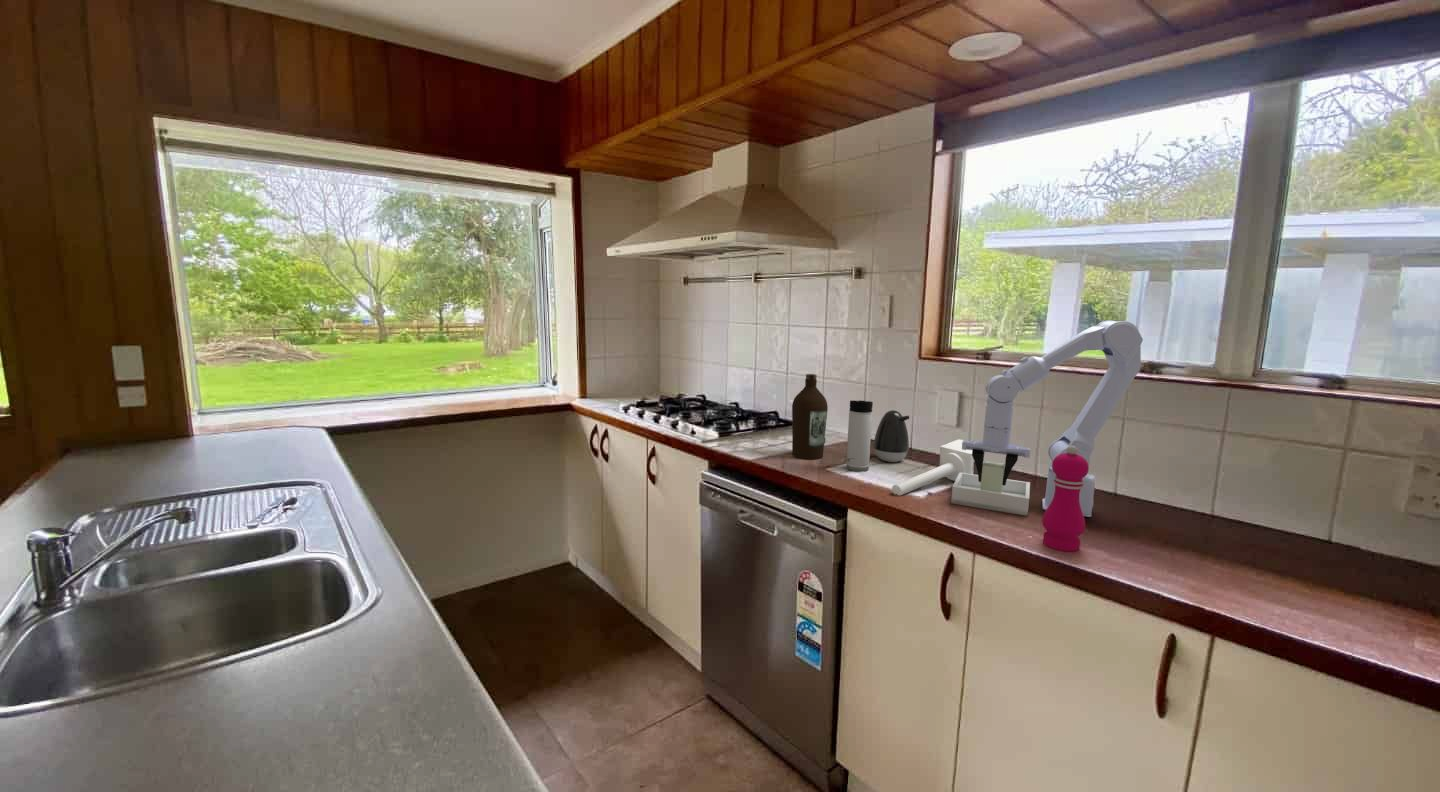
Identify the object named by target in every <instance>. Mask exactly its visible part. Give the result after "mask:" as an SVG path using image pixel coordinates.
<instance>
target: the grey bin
mask: <svg viewBox="0 0 1440 792" xmlns="http://www.w3.org/2000/svg"><path fill="white" fill-rule="evenodd" d="M980 488H981V482H979V479H978V474H974V473H973V474H967V473H960V472H959V474H958V476H957V479H956V481H954V483H953V484H952V487H951V500H950V503H951V504H955V505H961V506H967V507H973V508H979V509H985V510H991V511H995V512H1003V513H1009V514H1014V515H1020V516H1026V517H1027V516H1028V513H1029V506H1030V505H1029V504H1030V491H1031V481H1023V480H1015V479H1009V478H1007V481H1006V485H1003V486H1002V492H1001V493H997V492H991V491H984V490H980Z"/></svg>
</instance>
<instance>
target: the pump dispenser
mask: <svg viewBox="0 0 1440 792" xmlns="http://www.w3.org/2000/svg"><path fill="white" fill-rule="evenodd" d="M909 419H910V415H902V414H901V413H900V412H899V411H898V410H894V409H891V410H888V411H887V412H885V413H884V415H883V416H882V418H881V419H880V421H879V424H878V425H877V428H876V432H875V434H874V435H875V436H874V440H873V449H874V453H875V455H876V457H877V458H879V460H882V461H883V462H886V461H887V462H888V463H898V461H899V462H900V461H902V460H904V459H905V458H906V457H907V454H908V451H909V450H910V442H909V441H910V440H909V433H908V428H907V424H906V421H907V420H909Z"/></svg>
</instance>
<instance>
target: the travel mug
mask: <svg viewBox="0 0 1440 792" xmlns="http://www.w3.org/2000/svg"><path fill="white" fill-rule="evenodd" d="M848 412H849V413H848V427H847V441H846V442H847V443H846V444H847V445H846V447H847V448H846V462H845V463H846V464H845V467H846V469H847V470H849V471H851V470H852V472H862V471H863V472H868V471H869V469H870V457H871V455H870V454H871V439H872V437H871V436H872V422H873V401H870V400H868V401H867V400H860V399H859V400H849V410H848ZM863 472H862V473H863Z"/></svg>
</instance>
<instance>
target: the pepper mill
mask: <svg viewBox="0 0 1440 792" xmlns="http://www.w3.org/2000/svg"><path fill="white" fill-rule="evenodd" d="M1077 451H1078V450H1077V448H1076V447H1075V446H1069V447H1068V448H1067V452H1068V453H1063V454H1060V455H1058V456H1056V457H1055V459H1054V460H1053V463H1052V462H1051V463H1052V469H1053V471H1054V473H1055V474H1056V476H1054V481H1053V483H1054V484H1055V493H1054V497H1053V500H1052V502H1051V503H1050V505H1049V506H1048V508H1047V509H1046V510H1044V514H1043V515H1042V520H1041V524H1042V527H1044V529H1045V532H1044V533H1043V536H1042V543H1043V544H1044V545H1045V546H1047V547H1049V548H1051V549H1054V550H1057V551H1062V552H1072V553H1073V552H1077V551H1080V548H1081V539H1080V538H1079V537H1081V536H1082V535H1083V533H1085V531H1086V519H1085V516H1083V513H1082V510H1081V507H1080V502H1079V494H1080V489H1082V488H1083V483H1084V481H1083V480H1082V479H1083V478H1084V477H1085V476H1086V475H1087V474H1089V469H1090V467H1089V466H1090V465H1089V466H1088V463H1087V461H1086V460H1085V459H1084V458H1083V457H1082V456H1080V455H1077V454H1076V453H1077Z"/></svg>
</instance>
